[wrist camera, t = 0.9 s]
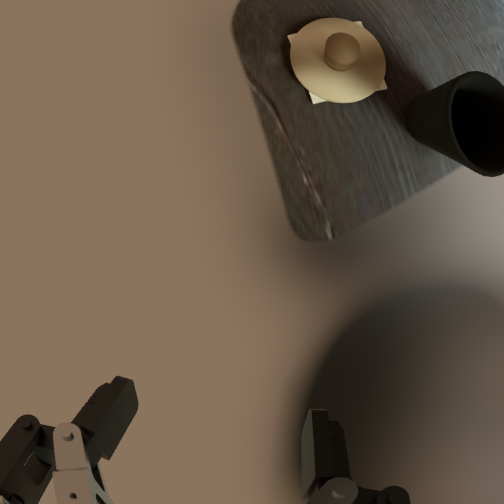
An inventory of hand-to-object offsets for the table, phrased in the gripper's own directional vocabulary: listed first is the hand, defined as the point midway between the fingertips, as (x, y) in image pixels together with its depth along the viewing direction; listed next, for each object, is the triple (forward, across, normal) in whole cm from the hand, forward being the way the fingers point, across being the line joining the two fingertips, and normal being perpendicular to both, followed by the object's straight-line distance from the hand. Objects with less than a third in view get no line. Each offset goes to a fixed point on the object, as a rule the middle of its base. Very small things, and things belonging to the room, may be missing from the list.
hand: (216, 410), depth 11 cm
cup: (+19, -17, -18) cm, 31 cm away
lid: (+19, -6, -22) cm, 30 cm away
